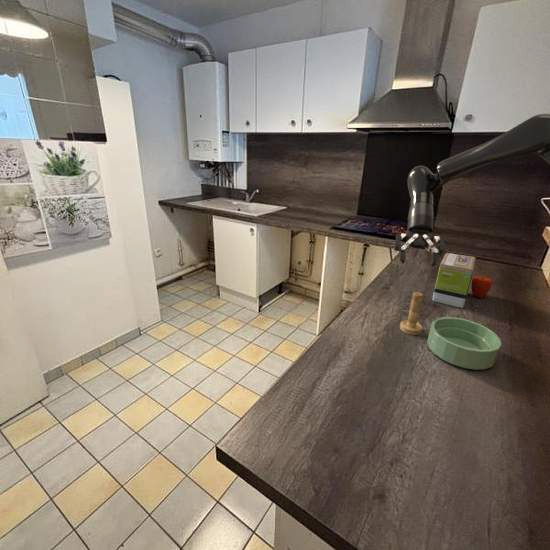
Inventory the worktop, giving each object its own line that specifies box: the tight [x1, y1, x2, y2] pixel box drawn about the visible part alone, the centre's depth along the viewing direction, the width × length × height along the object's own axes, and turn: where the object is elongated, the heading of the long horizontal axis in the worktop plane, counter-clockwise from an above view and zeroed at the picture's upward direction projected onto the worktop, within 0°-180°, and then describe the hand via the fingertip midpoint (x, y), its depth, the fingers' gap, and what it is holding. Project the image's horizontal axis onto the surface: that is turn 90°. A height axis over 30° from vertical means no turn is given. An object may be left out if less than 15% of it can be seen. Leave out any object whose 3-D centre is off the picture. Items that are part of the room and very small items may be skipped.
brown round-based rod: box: [399, 291, 424, 336], centre depth 86 cm, size 6×6×12 cm
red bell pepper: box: [470, 275, 493, 298], centre depth 107 cm, size 6×6×8 cm
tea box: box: [432, 252, 477, 309], centre depth 105 cm, size 15×10×15 cm
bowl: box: [426, 316, 502, 370], centre depth 77 cm, size 16×16×6 cm
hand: (417, 263), depth 90 cm, fingers open, 8 cm apart
